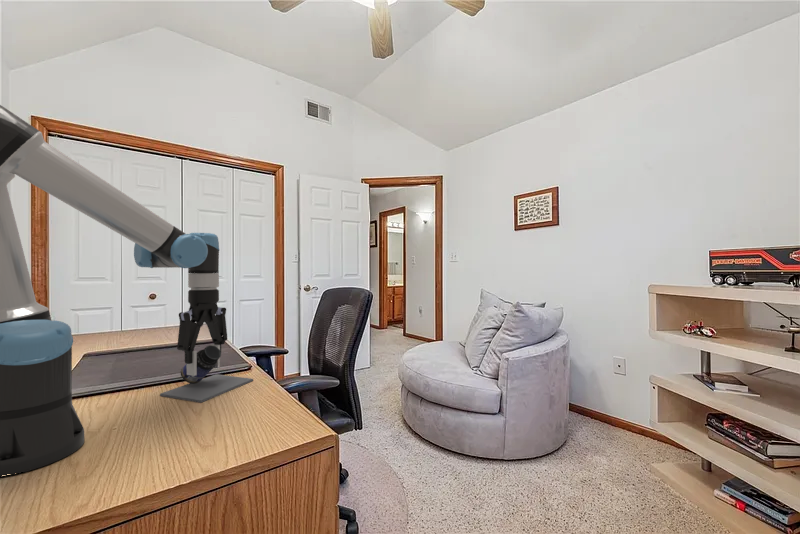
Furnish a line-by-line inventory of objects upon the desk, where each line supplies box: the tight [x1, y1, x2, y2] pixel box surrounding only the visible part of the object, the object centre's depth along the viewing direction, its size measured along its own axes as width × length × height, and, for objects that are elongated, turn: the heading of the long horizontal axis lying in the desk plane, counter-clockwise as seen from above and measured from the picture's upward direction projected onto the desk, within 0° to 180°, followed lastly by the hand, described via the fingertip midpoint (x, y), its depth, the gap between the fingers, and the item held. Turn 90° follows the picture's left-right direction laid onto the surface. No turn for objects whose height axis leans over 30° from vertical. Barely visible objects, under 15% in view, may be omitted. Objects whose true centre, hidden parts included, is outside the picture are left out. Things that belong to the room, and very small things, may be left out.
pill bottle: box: [180, 344, 222, 384], centre depth 100 cm, size 6×6×11 cm
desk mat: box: [159, 373, 254, 404], centre depth 100 cm, size 18×14×1 cm
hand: (203, 370), depth 100 cm, fingers open, 7 cm apart
